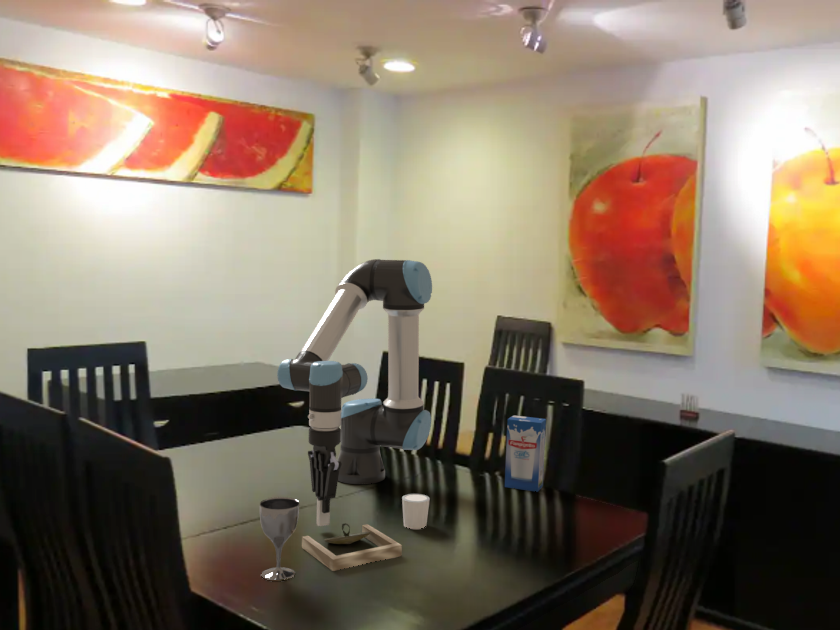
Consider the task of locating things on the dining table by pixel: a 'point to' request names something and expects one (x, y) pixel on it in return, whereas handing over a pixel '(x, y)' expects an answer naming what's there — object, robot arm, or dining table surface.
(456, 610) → the dining table surface
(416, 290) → the robot arm
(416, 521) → the white cup
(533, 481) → the milk carton
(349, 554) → the wooden u-shaped frame
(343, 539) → the lid
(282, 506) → the wine glass
